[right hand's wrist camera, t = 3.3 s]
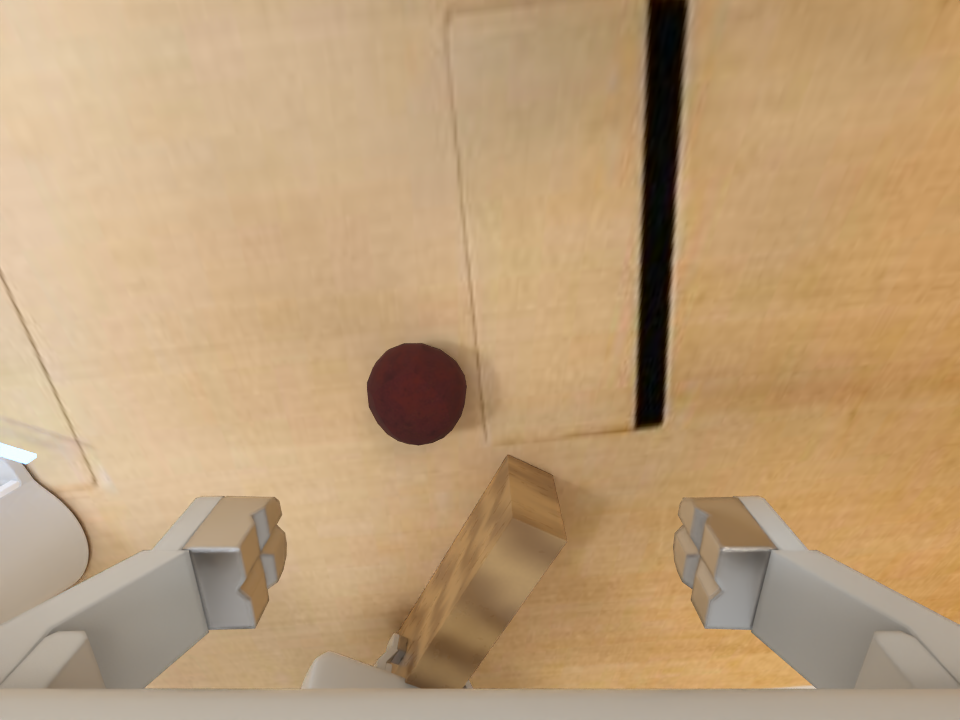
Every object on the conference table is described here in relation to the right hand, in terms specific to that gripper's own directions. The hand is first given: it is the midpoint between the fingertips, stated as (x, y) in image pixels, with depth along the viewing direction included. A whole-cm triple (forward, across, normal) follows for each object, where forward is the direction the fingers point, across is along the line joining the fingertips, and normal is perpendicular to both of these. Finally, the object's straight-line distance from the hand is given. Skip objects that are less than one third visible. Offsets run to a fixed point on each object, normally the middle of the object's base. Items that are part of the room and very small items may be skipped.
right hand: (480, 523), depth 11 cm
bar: (+31, -1, -29) cm, 42 cm away
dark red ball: (+31, -5, -9) cm, 33 cm away
